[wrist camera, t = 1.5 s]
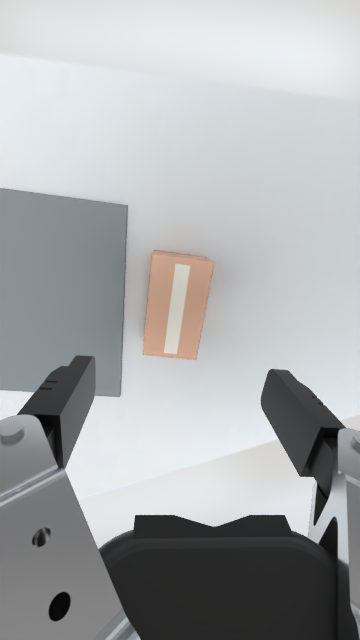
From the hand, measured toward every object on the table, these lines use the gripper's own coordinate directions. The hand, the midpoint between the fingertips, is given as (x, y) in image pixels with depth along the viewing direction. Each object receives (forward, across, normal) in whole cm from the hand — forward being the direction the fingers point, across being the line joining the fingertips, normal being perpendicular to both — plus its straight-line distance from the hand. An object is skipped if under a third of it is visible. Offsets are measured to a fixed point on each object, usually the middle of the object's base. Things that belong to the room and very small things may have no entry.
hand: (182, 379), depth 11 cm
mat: (+14, +14, +2) cm, 20 cm away
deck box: (+14, 0, 0) cm, 14 cm away
